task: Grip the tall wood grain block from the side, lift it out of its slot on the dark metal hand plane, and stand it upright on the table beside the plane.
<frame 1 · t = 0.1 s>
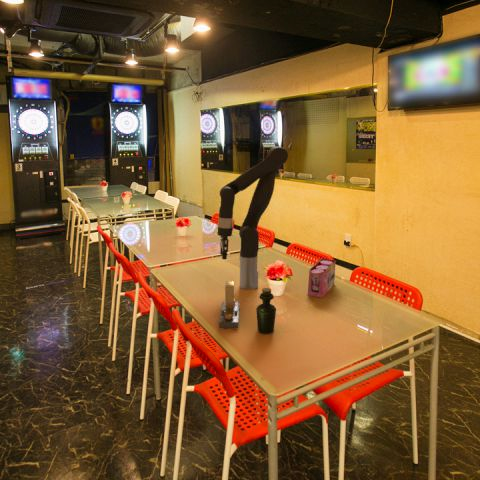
hand: (223, 256, 216), 17 cm above the table, tool pointing down, fingers open, 8 cm apart
potion bottle: (265, 331, 172), on the table
hand plane: (229, 317, 184), on the table
wood grain block: (229, 311, 183), point 3 cm above the table, touching hand plane
gum box: (321, 290, 218), on the table
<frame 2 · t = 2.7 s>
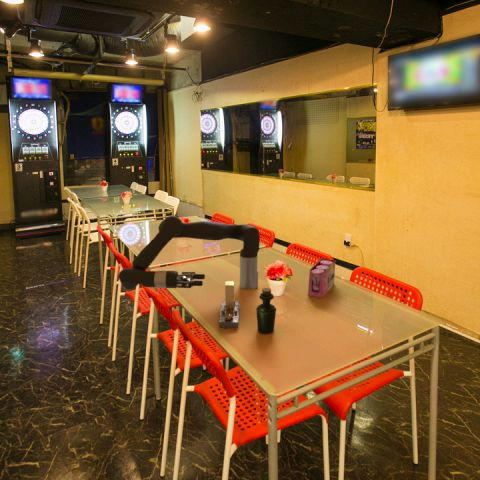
hand: (203, 279, 180), 17 cm above the table, tool horizontal, fingers open, 8 cm apart
nothing on the table moved.
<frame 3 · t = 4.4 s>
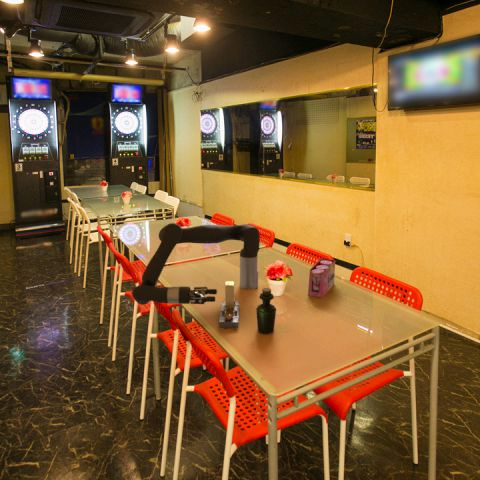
hand: (216, 295, 182), 10 cm above the table, tool horizontal, fingers open, 8 cm apart
nothing on the table moved.
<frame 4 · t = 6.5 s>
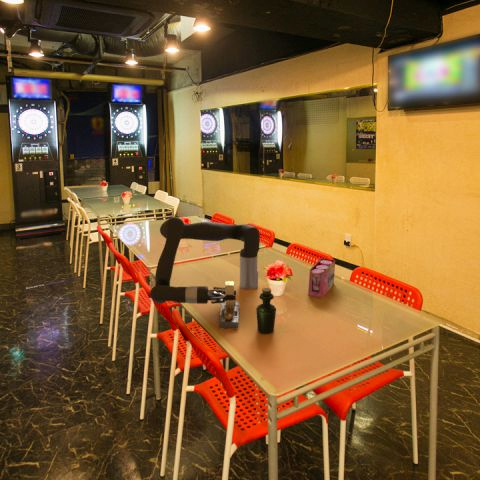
hand: (235, 295, 182), 10 cm above the table, tool horizontal, fingers closed on wood grain block, 5 cm apart
wood grain block: (229, 311, 183), point 3 cm above the table, touching gripper, hand plane
everything else where it was.
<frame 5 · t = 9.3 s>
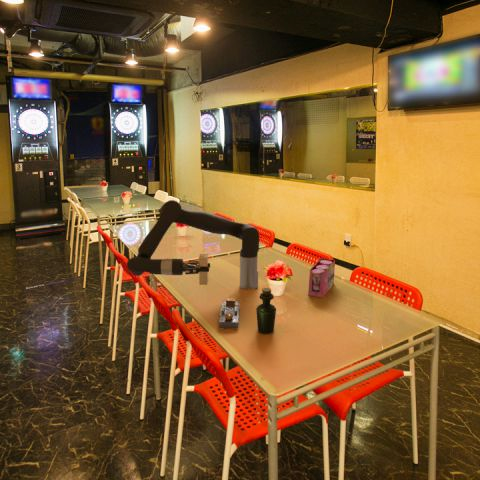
hand: (209, 267, 189), 20 cm above the table, tool horizontal, fingers closed on wood grain block, 5 cm apart
wood grain block: (203, 282, 191), point 12 cm above the table, touching gripper
everything else where it was.
when the fingers open (8 cm above the table, at t = 12.1 s): wood grain block stays where it is, on the table.
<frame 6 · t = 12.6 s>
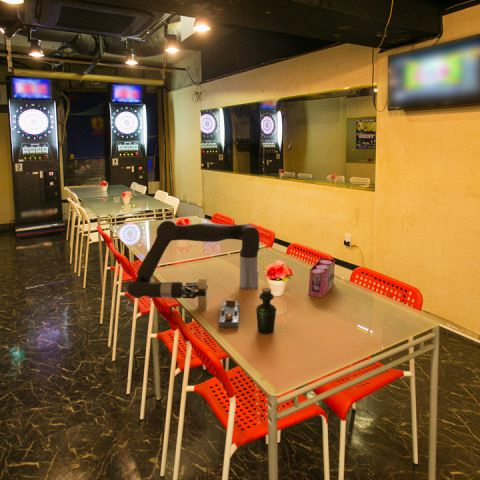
hand: (206, 290, 193), 8 cm above the table, tool horizontal, fingers open, 8 cm apart
wood grain block: (202, 307, 195), on the table
everything else where it was.
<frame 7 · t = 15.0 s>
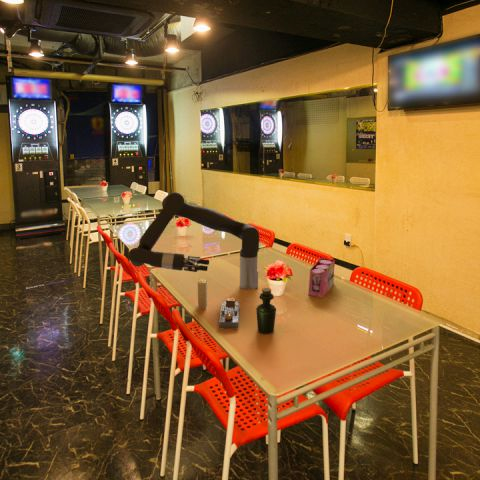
hand: (208, 265, 191), 20 cm above the table, tool horizontal, fingers open, 8 cm apart
nothing on the table moved.
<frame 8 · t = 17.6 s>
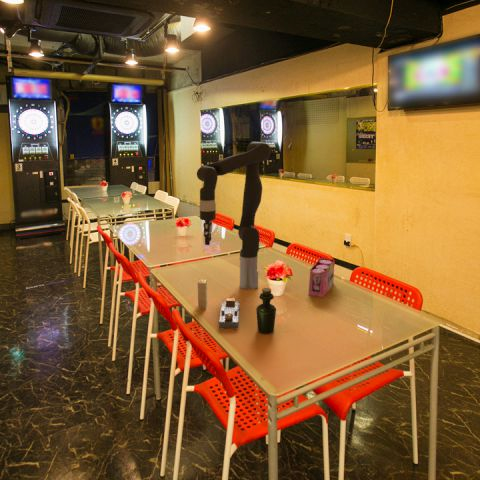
hand: (208, 242, 200), 28 cm above the table, tool pointing down, fingers open, 8 cm apart
nothing on the table moved.
at the end: wood grain block touching table; wood grain block inside the target area (0.0 cm from its centre), on the table; wood grain block tilted 0° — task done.
